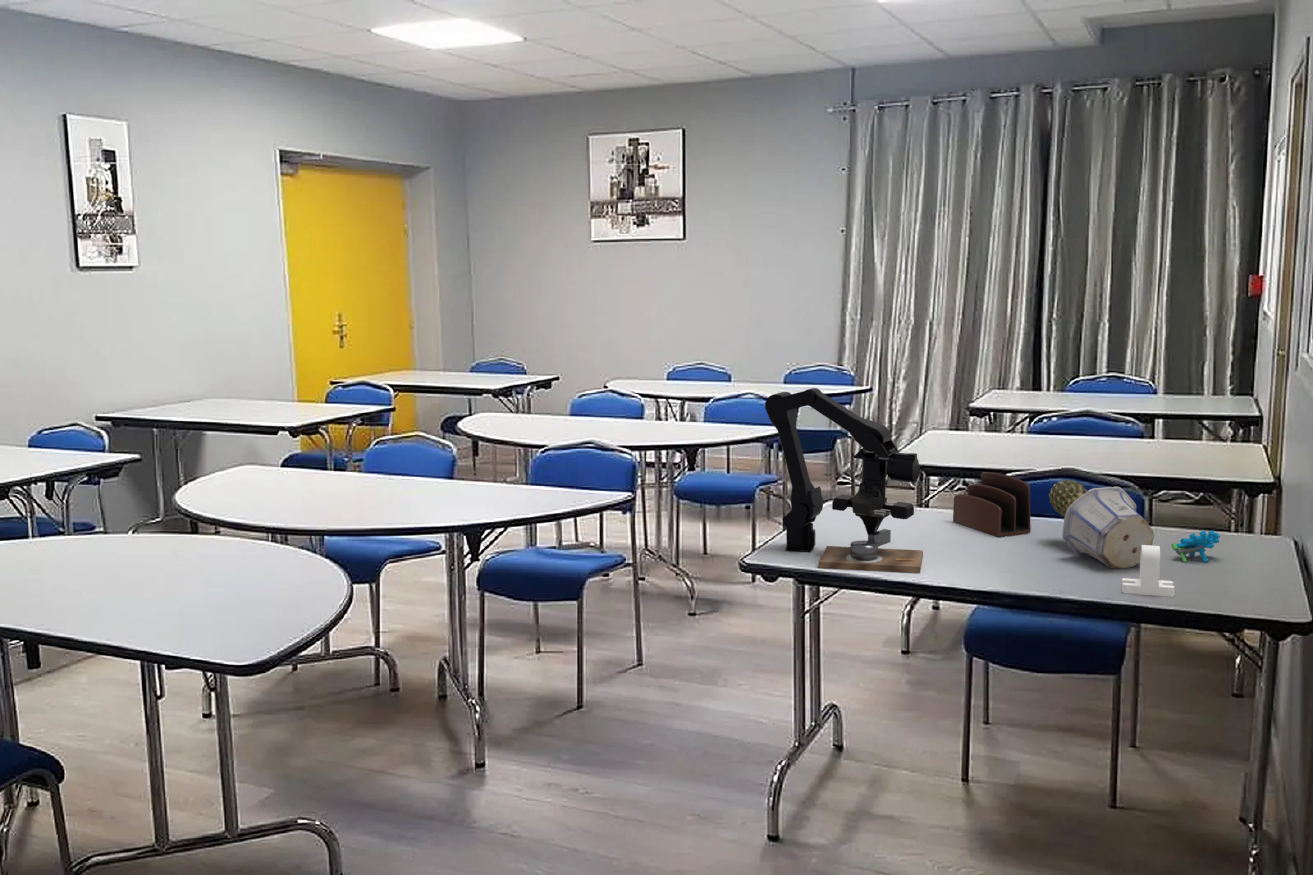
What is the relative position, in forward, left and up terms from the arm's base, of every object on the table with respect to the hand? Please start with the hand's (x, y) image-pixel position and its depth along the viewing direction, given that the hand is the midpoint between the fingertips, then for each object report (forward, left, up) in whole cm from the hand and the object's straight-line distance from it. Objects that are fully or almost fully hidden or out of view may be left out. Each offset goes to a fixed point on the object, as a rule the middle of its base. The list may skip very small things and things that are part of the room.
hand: (871, 541), depth 265 cm
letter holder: (+28, +35, -4) cm, 45 cm away
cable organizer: (+59, -18, -4) cm, 62 cm away
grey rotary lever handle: (+1, -5, -2) cm, 5 cm away
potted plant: (+51, +11, -4) cm, 52 cm away
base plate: (+1, -5, -4) cm, 7 cm away
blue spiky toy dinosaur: (+73, +12, -4) cm, 74 cm away
